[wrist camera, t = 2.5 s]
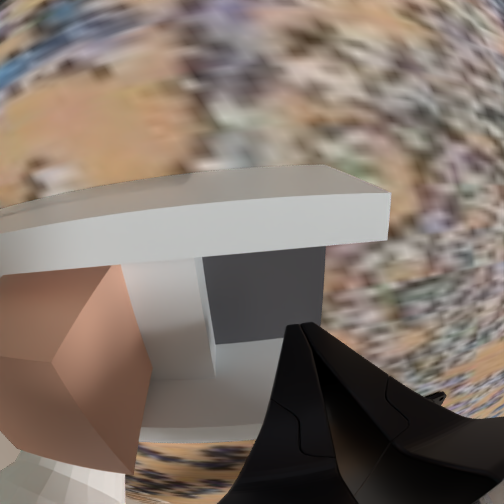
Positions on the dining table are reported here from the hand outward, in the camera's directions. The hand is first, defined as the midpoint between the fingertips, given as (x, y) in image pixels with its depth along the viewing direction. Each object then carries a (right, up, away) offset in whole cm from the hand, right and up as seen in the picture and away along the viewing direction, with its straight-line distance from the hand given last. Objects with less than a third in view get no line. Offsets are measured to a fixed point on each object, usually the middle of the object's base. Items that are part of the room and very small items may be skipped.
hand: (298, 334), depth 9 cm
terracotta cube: (-8, 0, +1) cm, 8 cm away
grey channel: (-8, +1, +3) cm, 8 cm away
